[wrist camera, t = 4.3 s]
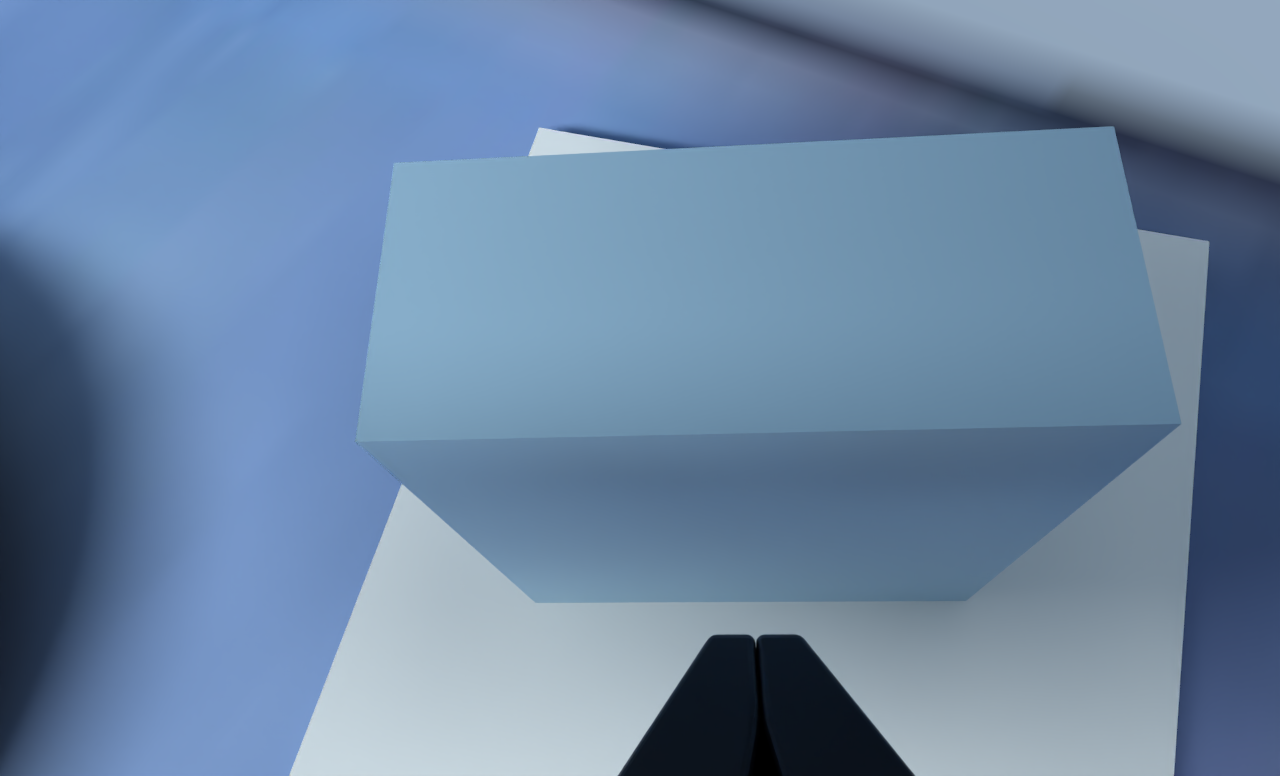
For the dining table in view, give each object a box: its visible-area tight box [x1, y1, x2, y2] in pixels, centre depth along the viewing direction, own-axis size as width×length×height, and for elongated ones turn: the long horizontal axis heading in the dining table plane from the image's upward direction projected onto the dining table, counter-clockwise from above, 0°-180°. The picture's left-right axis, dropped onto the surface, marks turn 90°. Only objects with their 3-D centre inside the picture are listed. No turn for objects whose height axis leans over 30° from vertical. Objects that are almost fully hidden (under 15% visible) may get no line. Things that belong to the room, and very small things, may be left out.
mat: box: [289, 128, 1209, 776], centre depth 16 cm, size 14×13×1 cm
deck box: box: [355, 126, 1181, 603], centre depth 12 cm, size 3×7×8 cm, turn 89°
